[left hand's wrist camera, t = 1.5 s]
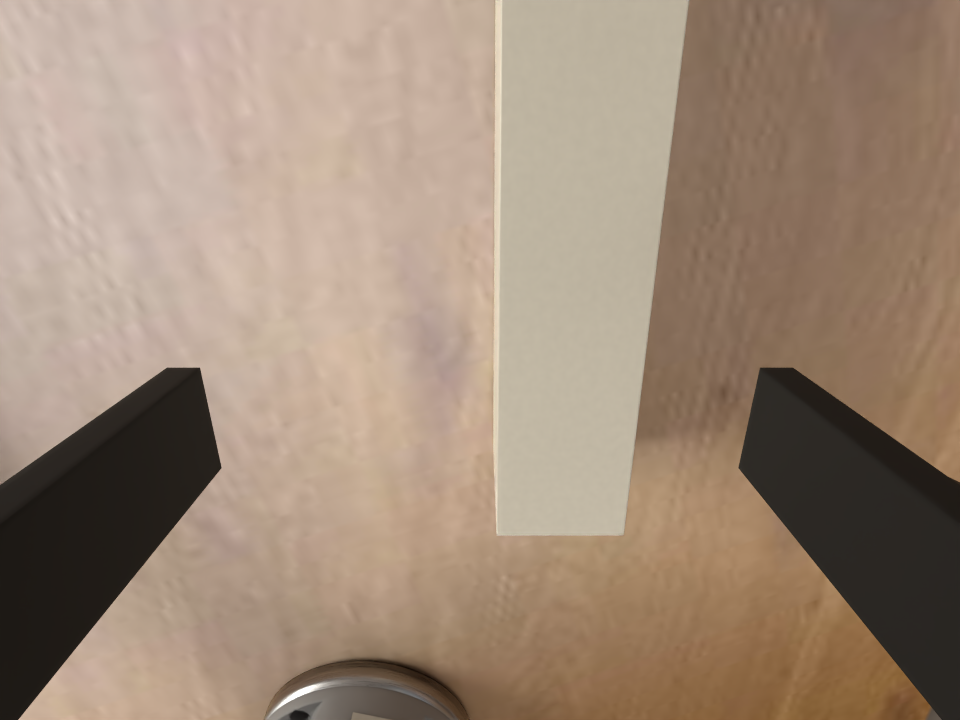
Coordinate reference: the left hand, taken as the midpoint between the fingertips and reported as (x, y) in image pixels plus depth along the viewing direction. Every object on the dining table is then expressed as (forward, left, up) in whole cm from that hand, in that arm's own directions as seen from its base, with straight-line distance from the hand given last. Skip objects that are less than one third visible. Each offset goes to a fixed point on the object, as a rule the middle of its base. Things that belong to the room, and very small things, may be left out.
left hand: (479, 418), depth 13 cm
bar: (+27, +2, -15) cm, 31 cm away
